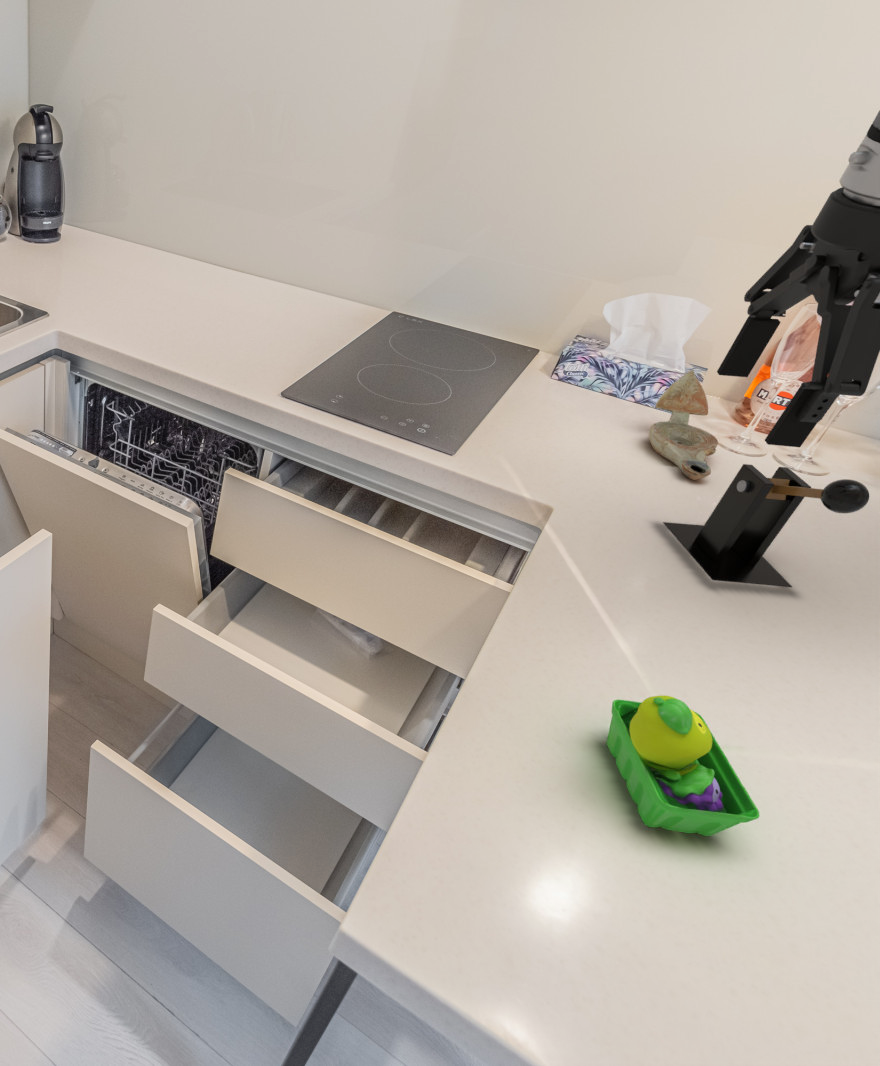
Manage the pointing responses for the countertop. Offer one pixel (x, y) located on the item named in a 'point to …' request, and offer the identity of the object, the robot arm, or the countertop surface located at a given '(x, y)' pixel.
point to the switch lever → (826, 494)
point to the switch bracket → (742, 529)
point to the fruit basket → (676, 768)
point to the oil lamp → (684, 428)
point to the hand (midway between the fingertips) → (755, 407)
